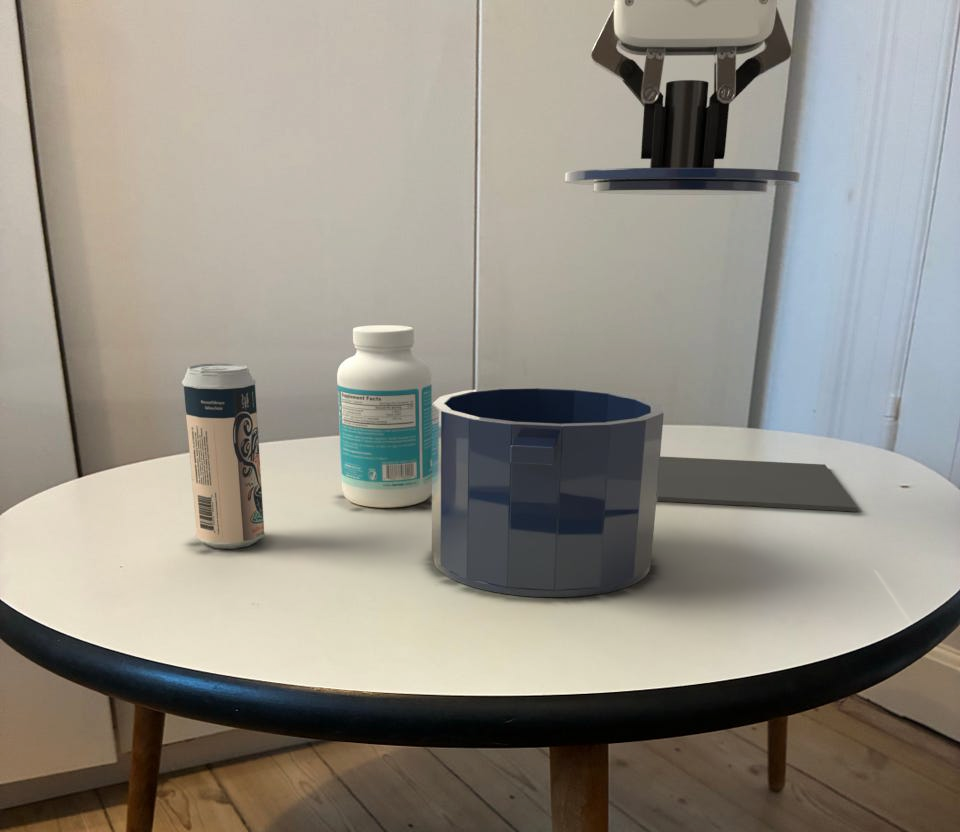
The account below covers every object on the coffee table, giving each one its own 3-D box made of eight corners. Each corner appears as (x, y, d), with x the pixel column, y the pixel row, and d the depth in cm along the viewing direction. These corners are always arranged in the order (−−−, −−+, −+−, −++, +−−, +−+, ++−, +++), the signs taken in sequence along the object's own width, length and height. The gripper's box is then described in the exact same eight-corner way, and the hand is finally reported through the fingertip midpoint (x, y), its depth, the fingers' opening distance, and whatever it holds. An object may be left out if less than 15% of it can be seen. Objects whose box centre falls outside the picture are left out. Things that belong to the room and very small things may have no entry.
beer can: (268, 548, 71) (257, 371, 66) (197, 553, 70) (181, 372, 65) (262, 529, 75) (251, 361, 70) (194, 533, 74) (179, 362, 69)
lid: (780, 196, 77) (791, 95, 74) (817, 189, 62) (832, 64, 60) (569, 194, 79) (573, 96, 76) (558, 188, 64) (562, 66, 62)
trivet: (824, 468, 98) (825, 464, 97) (856, 512, 83) (857, 507, 83) (655, 460, 100) (655, 456, 99) (657, 501, 85) (657, 496, 85)
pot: (649, 526, 78) (660, 386, 74) (650, 620, 59) (666, 440, 55) (459, 515, 80) (461, 378, 76) (404, 603, 61) (402, 427, 57)
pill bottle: (382, 483, 89) (379, 321, 84) (450, 496, 85) (451, 327, 80) (322, 500, 83) (315, 327, 78) (392, 515, 79) (389, 334, 74)
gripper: (570, -173, 61) (558, 168, 68) (855, -183, 59) (812, 169, 66) (575, -133, 67) (564, 173, 74) (830, -140, 66) (794, 174, 73)
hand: (681, 168), depth 70 cm, fingers closed on lid, 2 cm apart
